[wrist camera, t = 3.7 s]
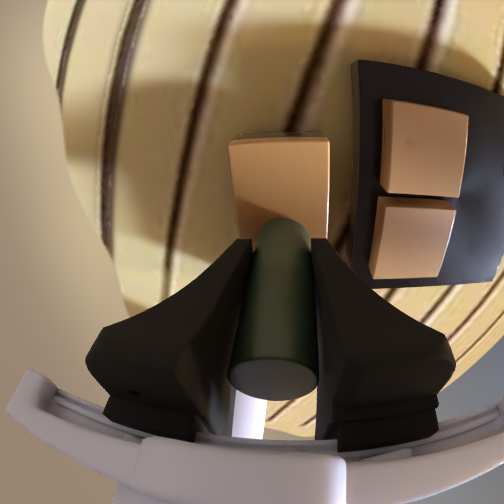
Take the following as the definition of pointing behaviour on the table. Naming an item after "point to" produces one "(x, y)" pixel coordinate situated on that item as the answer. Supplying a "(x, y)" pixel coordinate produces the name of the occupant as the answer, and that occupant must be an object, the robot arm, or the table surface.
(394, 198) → the chip
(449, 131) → the chip
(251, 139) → the brush
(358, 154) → the enamel panel
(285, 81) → the table surface
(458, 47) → the table surface
